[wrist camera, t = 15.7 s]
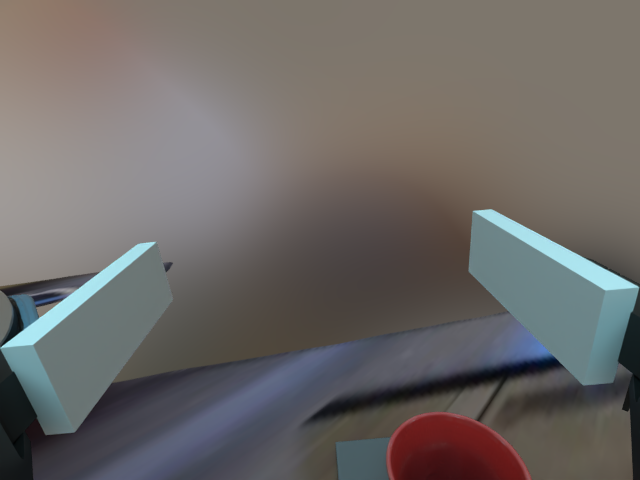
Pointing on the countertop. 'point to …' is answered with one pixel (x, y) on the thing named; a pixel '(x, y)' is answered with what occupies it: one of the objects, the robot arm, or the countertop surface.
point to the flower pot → (451, 451)
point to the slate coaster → (362, 459)
